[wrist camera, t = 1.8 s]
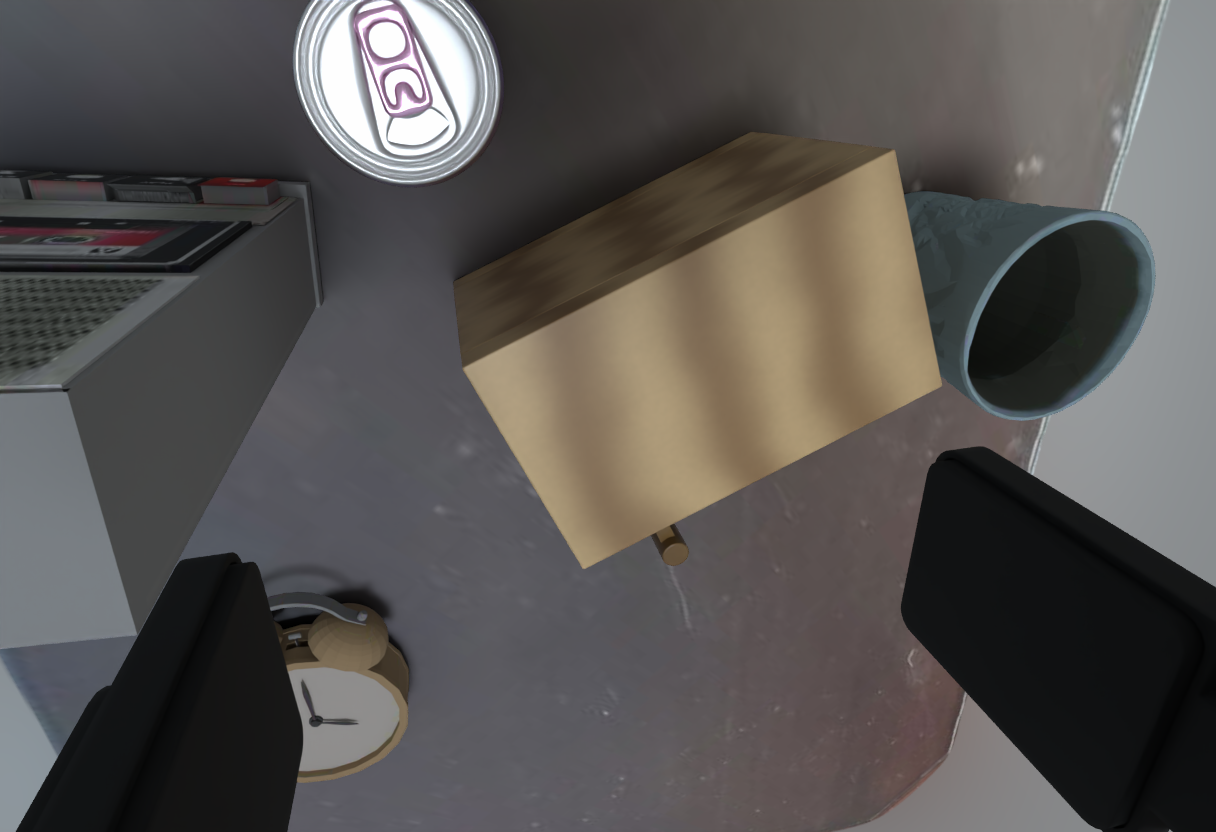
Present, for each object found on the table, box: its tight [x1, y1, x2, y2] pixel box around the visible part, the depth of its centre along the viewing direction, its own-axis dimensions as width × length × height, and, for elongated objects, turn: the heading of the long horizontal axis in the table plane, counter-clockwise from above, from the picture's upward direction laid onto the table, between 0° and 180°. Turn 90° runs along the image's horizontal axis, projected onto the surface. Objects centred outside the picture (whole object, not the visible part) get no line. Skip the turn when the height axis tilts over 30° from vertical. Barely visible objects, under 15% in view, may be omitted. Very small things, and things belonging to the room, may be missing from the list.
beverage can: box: [292, 0, 504, 187], centre depth 26 cm, size 6×6×15 cm
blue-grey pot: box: [904, 191, 1155, 420], centre depth 37 cm, size 10×10×12 cm
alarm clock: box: [267, 592, 409, 783], centre depth 43 cm, size 11×5×15 cm
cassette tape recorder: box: [0, 170, 323, 649], centre depth 22 cm, size 14×6×25 cm, turn 86°
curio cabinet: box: [453, 132, 942, 569], centre depth 34 cm, size 18×12×13 cm, turn 114°
